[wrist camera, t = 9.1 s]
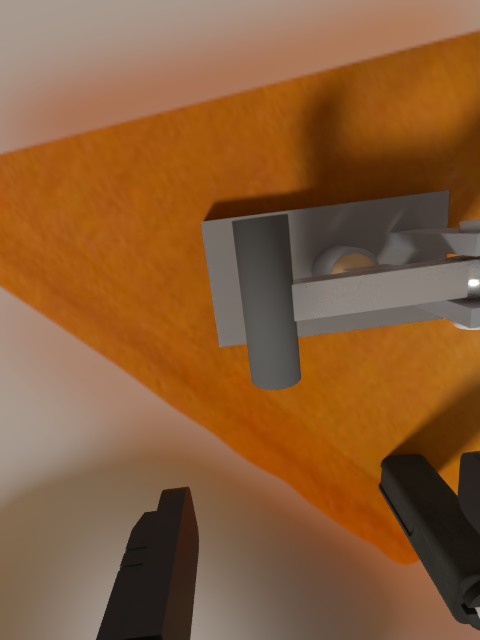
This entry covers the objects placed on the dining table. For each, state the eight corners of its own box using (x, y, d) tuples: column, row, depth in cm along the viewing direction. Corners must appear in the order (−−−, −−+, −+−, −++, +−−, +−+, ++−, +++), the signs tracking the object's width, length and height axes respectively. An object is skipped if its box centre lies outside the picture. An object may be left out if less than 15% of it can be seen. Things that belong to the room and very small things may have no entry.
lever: (475, 191, 21) (528, 182, 17) (465, 336, 24) (509, 355, 20) (230, 222, 20) (233, 220, 17) (248, 368, 23) (254, 393, 19)
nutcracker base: (434, 192, 28) (577, 166, 17) (429, 313, 31) (548, 361, 20) (202, 222, 28) (184, 216, 17) (220, 340, 31) (215, 404, 20)
